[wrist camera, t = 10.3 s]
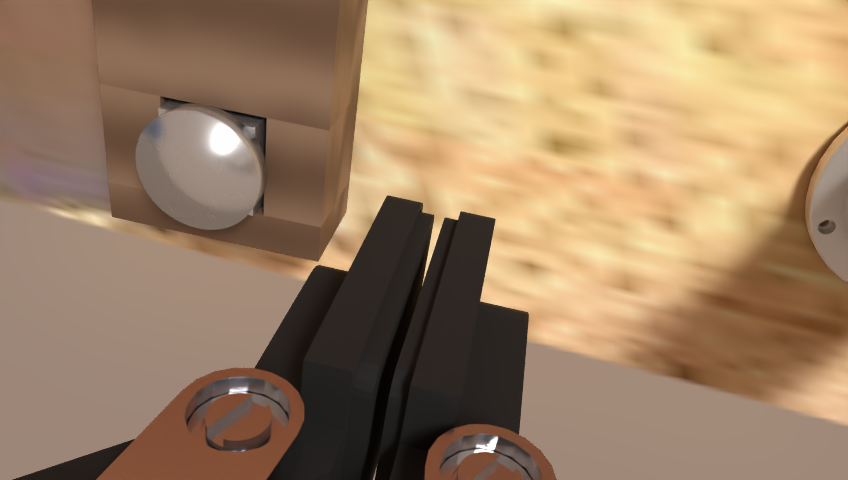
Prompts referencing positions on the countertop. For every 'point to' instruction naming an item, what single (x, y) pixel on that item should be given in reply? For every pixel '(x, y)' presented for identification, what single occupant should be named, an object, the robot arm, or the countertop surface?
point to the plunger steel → (203, 163)
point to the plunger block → (239, 102)
